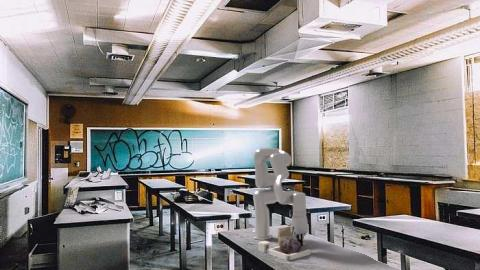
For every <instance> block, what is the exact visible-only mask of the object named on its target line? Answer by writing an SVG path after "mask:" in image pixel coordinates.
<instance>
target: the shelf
mask: <svg viewBox="0 0 480 270" xmlns="http://www.w3.org/2000/svg"><path fill="white" fill-rule="evenodd" d="M285 238H293V239H295V240H297V239H296V237H293V234H292V233H291V225H289V226H284V227H278V228H277V245H275V247H278V246H282V245H283V243H284V240H285ZM306 244H307V243H306V242H304V239H303V246H304V245H306Z"/></svg>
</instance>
